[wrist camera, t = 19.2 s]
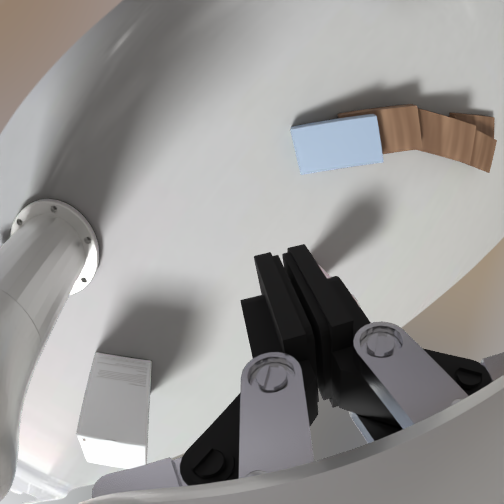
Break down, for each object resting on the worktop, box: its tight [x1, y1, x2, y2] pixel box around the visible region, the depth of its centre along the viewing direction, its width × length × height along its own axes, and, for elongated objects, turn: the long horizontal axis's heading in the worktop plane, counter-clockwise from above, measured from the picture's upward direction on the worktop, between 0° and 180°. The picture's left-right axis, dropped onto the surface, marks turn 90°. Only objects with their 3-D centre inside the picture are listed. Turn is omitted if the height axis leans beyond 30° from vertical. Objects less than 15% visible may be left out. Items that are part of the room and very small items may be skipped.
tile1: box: [290, 114, 383, 175], centre depth 32 cm, size 2×5×9 cm
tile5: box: [449, 113, 494, 139], centre depth 35 cm, size 2×5×9 cm
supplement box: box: [76, 352, 152, 469], centre depth 38 cm, size 9×9×15 cm
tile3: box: [416, 108, 476, 165], centre depth 32 cm, size 2×5×9 cm
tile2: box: [338, 104, 422, 154], centre depth 32 cm, size 2×5×9 cm
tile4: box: [462, 130, 497, 173], centre depth 34 cm, size 2×5×9 cm
